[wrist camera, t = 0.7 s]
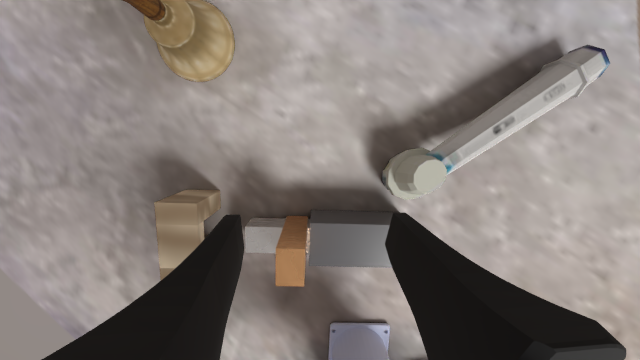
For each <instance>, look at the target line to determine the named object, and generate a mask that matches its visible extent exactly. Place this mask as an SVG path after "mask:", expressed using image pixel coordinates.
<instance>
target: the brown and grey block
mask: <svg viewBox="0 0 640 360" xmlns="http://www.w3.org/2000/svg"><path fill="white" fill-rule="evenodd" d="M309 251H310V219H308V216H287V218H286V219H285V218H251V220H250V221H249V222H248V223H247V225H246V226H245V253H276V286H304V281H305V267H306V254H309Z"/></svg>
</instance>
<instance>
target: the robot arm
mask: <svg viewBox="0 0 640 360" xmlns="http://www.w3.org/2000/svg"><path fill="white" fill-rule="evenodd" d="M385 247H386V250H387V254H388V257H389V260H390V263H391V266H392V268H393V270H394V272H395V275H396V277H397V279H398V281H399V283H400V286H401V288H402V290H403V292H404V294H405V297H406V299H407V301H408V303H409V305H410V308H411V310H412V312H413V315H414V317H415V320H416V323H417V326H418V329H419V332H420V335H421V338H422V341H423V344H424V347H425V350H426V353H427V357H428V360H624V359H625V357H626V348H625V347H624V346H623V345H622V344H620V343H619V342H618V341H617V340H616V339H615V338H614V337H613V336H612V335H611V334H610V333H609V332H608V331H607V330H606V329H605V328H603V327H602V326H601V325H600V324H599V323H598V322H597V321H595V320H592V319H590V318H587V317H585V316H582V315H580V314H577V313H575V312H573V311H570V310H568V309H565V308H563V307H560V306H558V305H555V304H553V303H551V302H548V301H546V300H544V299H542V298H540V297H537V296H535V295H533V294H531V293H529V292H527V291H525V290H523V289H521V288H519V287H517V286H515V285H513V284H511V283H509V282H507V281H505V280H503V279H501V278H499V277H498V276H496V275H494V274H492V273H490V272H489V271H487V270H485V269H484V268H482V267H480V266H479V265H477V264H475V263H474V262H472V261H471V260H469V259H467V258H466V257H464V256H463V255H461V254H460V253H458V252H457V251H456V250H454V249H453V248H451V247H450V246H448V245H447V244H446V243H444V242H443V241H442V240H440V239H439V238H438V237H436V236H435V235H434V234H432V233H431V232H430V231H428V230H427V229H426V228H425V227H423V226H422V225H421V224H419V223H418V222H417V221H416V220H414V219H413V218H412V217H410V216H409V215H408V214H406V213H393V215H392V218H391V222H390V226H389V230H388V234H387V238H386V241H385ZM243 253H244V243H243V234H242V226H241V218H240V215H226V216H224V217H223V219H222V220H221V221H220V222H219V223H218V224H217V226H216V227H215V228H214V229H213V230H212V231H211V232H210V234H209V235H208V236H207V237H206V238H205V239H204V240H203V241H202V242H201V243H200V244H199V246H198V247H197V248H196V249H195V250H194V251H193V252H192V253H191V254H190V255H189V256H188V257H187V258H186V259H185V260H183V261H182V262H181V263H180V264H179V265H178V266H177V267H176V268H175V269H174V270H173V271H172V272H171V273H169V274H168V275H167V276H166V277H165V278H164V279H162V280H161V281H160V282H159V283H158V284H156V285H155V286H154V287H153V288H151V289H150V290H149V291H147V292H146V293H145V294H143V295H142V296H141V297H139V298H138V299H137V300H135V301H134V302H132V303H131V304H130V305H128V306H127V307H126V308H124V309H123V310H121V311H120V312H118V313H117V314H115V315H114V316H112V317H111V318H109V319H108V320H106V321H105V322H103V323H102V324H100V325H99V326H97V327H96V328H94V329H92V330H91V331H89V332H88V333H86V334H84V335H83V336H81V337H79V338H78V339H76V340H74V341H73V342H71V343H69V344H68V345H66V346H64V347H63V348H61V349H59V350H57V351H56V352H54V353H53V354H51V355H49V356H47V357H46V358H44V359H42V360H220V354H221V348H222V343H223V337H224V332H225V327H226V323H227V318H228V315H229V311H230V307H231V304H232V300H233V297H234V293H235V289H236V286H237V282H238V278H239V275H240V271H241V266H242V260H243ZM333 330H334V331H333ZM385 330H387V331H385ZM389 335H390V326H389V324H387V323H331V324H330V337H329V358H328V360H390V359H389V356H388V345H389Z"/></svg>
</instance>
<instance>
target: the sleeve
mask: <svg viewBox="0 0 640 360" xmlns="http://www.w3.org/2000/svg"><path fill="white" fill-rule="evenodd" d="M393 213H400V212H374V211H337V210H311V219H310V251H309V266H338V267H386V268H392V266H391V263H390V260H389V257H388V254H387V250H386V247H385V241H386V238H387V234H388V230H389V226H390V222H391V218H392V215H393Z"/></svg>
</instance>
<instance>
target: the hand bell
mask: <svg viewBox="0 0 640 360" xmlns="http://www.w3.org/2000/svg"><path fill="white" fill-rule="evenodd" d="M123 1H126V2H127V3H129V4H131V5H132V6H133V7H135V8H136V9H137V10H139V11H140V12H141V13H142V14H144V23H145V26H146V29H147V31H148V33H149V34H150V36H151V37H152V38H153V39H154V40H155V41H156V42H157V46H158V49H159V52H160V54H161V57H162V58H163V60H164V62H165V63H166V65H167V66H168V67H169V68H170V69H171V70H172V71H173V72H174V73H176V74H177V75H178V76H180V77H182V78H184V79H186V80H190V81H195V82H204V81H209V80H212V79H214V78H216V77H218V76H219V75H221V74H222V73H223V72H224V71H225V70H226V69H227V67H228V66H229V64H230V63H231V60H232V58H233V54H234V48H235V42H234V35H233V31H232V28H231V26H230V24H229V22H228V20H227V18H226V17H225V16H224V14H223V13H222V12H221V11H220V10H219V9H217V8H216V7H215V6H214V5H212V4H210V3H208V2H206V1H203V0H123Z"/></svg>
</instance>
